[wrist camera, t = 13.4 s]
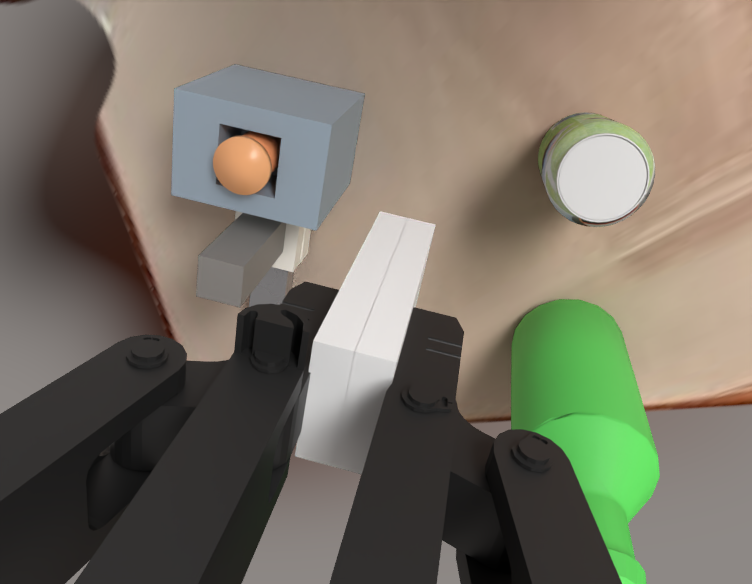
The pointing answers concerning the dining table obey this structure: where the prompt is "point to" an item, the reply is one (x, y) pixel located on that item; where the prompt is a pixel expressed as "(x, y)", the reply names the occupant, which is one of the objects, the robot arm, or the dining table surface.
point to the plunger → (246, 162)
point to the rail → (272, 287)
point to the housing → (271, 117)
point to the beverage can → (595, 169)
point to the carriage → (248, 257)
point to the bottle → (588, 414)
